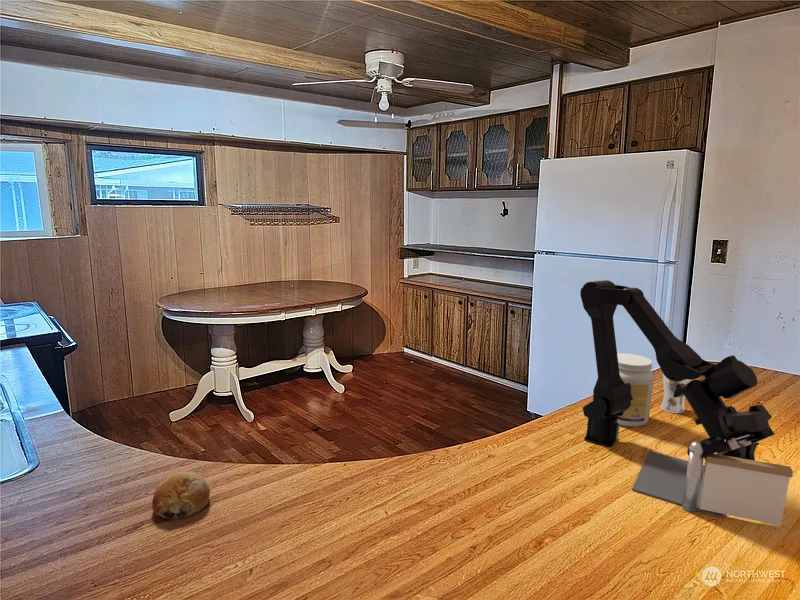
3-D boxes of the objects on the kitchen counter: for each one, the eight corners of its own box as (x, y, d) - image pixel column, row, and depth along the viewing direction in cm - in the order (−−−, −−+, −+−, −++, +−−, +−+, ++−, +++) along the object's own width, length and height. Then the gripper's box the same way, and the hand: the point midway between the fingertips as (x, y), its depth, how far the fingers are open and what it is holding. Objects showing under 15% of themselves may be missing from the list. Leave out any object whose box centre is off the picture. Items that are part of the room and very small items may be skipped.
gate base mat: (631, 490, 107) (632, 488, 106) (648, 452, 123) (649, 450, 123) (723, 518, 98) (723, 516, 98) (728, 473, 114) (728, 471, 114)
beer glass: (689, 415, 144) (697, 363, 141) (662, 413, 146) (669, 361, 143) (681, 405, 151) (688, 356, 148) (656, 403, 152) (662, 354, 149)
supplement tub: (610, 405, 150) (616, 349, 147) (655, 418, 142) (662, 359, 138) (592, 417, 141) (598, 358, 138) (638, 432, 133) (646, 369, 130)
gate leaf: (698, 509, 99) (706, 456, 97) (697, 504, 101) (705, 452, 98) (782, 526, 94) (793, 471, 92) (779, 521, 96) (789, 466, 94)
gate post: (690, 514, 99) (700, 446, 96) (677, 506, 101) (686, 440, 98) (700, 511, 100) (710, 443, 97) (686, 503, 102) (696, 437, 100)
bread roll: (216, 518, 100) (225, 475, 102) (180, 526, 91) (191, 479, 93) (174, 507, 104) (184, 466, 105) (135, 514, 94) (147, 468, 96)
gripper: (711, 399, 95) (764, 485, 87) (772, 385, 103) (826, 462, 95) (667, 422, 103) (712, 502, 96) (726, 407, 111) (772, 480, 104)
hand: (757, 486), depth 97 cm, fingers closed
